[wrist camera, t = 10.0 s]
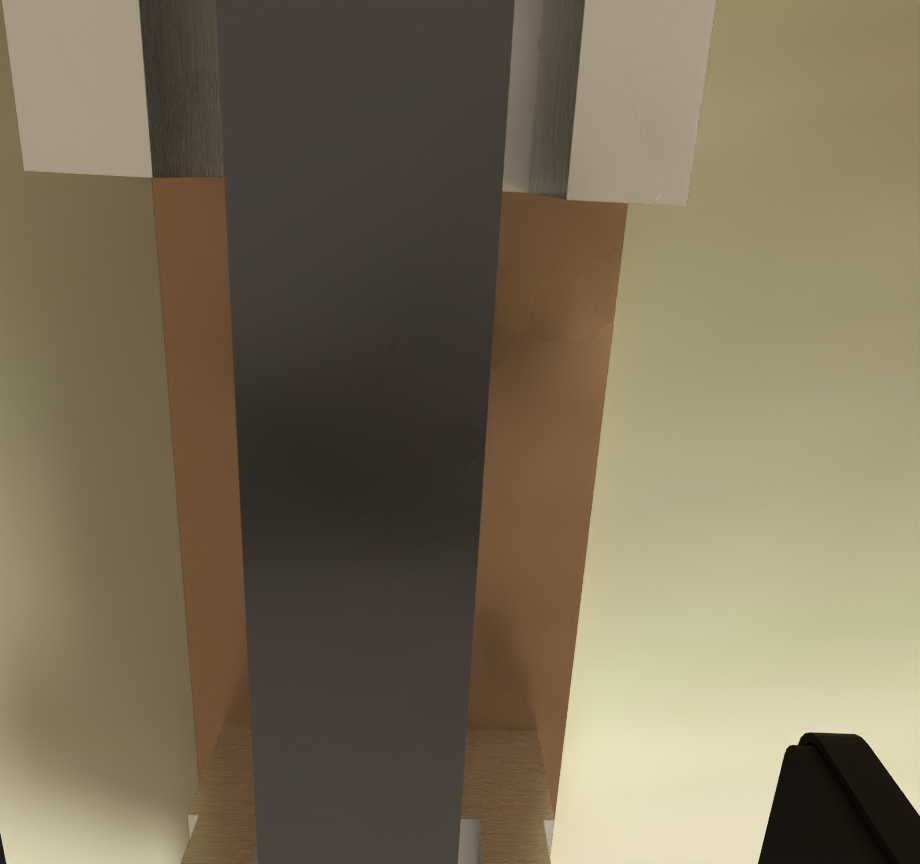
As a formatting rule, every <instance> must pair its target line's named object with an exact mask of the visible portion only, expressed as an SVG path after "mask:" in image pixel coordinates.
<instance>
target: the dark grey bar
mask: <svg viewBox="0 0 920 864" xmlns="http://www.w3.org/2000/svg"><path fill="white" fill-rule="evenodd" d="M514 5H515V0H216V19H217V40H218V60H219V81H220V101H221V122H222V142H223V163H224V183H225V204H226V224H227V245H228V265H229V286H230V306H231V327H232V347H233V368H234V388H235V409H236V429H237V450H238V470H239V491H240V511H241V532H242V552H243V573H244V593H245V614H246V634H247V655H248V675H249V696H250V716H251V737H252V757H253V778H254V798H255V819H256V839H257V860H258V864H458V854H459V839H460V824H461V809H462V793H463V778H464V763H465V748H466V733H467V718H468V702H469V687H470V672H471V657H472V642H473V627H474V612H475V596H476V581H477V566H478V551H479V536H480V521H481V505H482V490H483V475H484V460H485V445H486V430H487V415H488V399H489V384H490V369H491V354H492V339H493V324H494V308H495V293H496V278H497V263H498V248H499V233H500V218H501V202H502V187H503V172H504V157H505V142H506V127H507V112H508V96H509V81H510V66H511V51H512V36H513V21H514Z"/></svg>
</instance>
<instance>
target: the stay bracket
mask: <svg viewBox="0 0 920 864" xmlns="http://www.w3.org/2000/svg"><path fill="white" fill-rule="evenodd" d="M2 5H3V13H4V21H5V28H6V36H7V44H8V51H9V59H10V67H11V74H12V82H13V90H14V97H15V105H16V113H17V120H18V128H19V136H20V143H21V151H22V159H23V166H24V171H35V172H54V173H73V174H91V175H110V176H129V177H148V178H152V186H153V198H154V211H155V224H156V237H157V250H158V262H159V275H160V288H161V301H162V314H163V326H164V339H165V352H166V365H167V378H168V390H169V403H170V416H171V429H172V442H173V454H174V467H175V480H176V493H177V506H178V518H179V531H180V544H181V557H182V569H183V582H184V595H185V608H186V621H187V633H188V646H189V659H190V672H191V685H192V697H193V710H194V723H195V736H196V749H197V761H198V774H199V787H198V790H197V792H196V795H195V797H194V800H193V802H192V805H191V808H190V810H189V813H188V825H189V836H190V840H189V842H188V845H187V848H186V851H185V853H184V856H183V859H182V861H181V864H258V860H257V839H256V819H255V798H254V778H253V757H252V737H251V716H250V696H249V675H248V655H247V634H246V614H245V593H244V573H243V552H242V532H241V511H240V491H239V470H238V450H237V429H236V409H235V388H234V368H233V347H232V327H231V306H230V286H229V265H228V245H227V224H226V204H225V183H224V163H223V142H222V122H221V101H220V81H219V60H218V40H217V19H216V0H2ZM715 7H716V0H515V5H514V21H513V36H512V51H511V66H510V81H509V96H508V112H507V127H506V142H505V157H504V172H503V187H502V202H501V218H500V233H499V248H498V263H497V278H496V293H495V308H494V324H493V339H492V354H491V369H490V384H489V399H488V415H487V430H486V445H485V460H484V475H483V490H482V505H481V521H480V536H479V551H478V566H477V581H476V596H475V612H474V627H473V642H472V657H471V672H470V687H469V702H468V718H467V733H466V748H465V763H464V778H463V793H462V809H461V824H460V839H459V854H458V864H551V862H550V853H551V844H552V836H553V827H554V819H555V811H556V802H557V794H558V785H559V777H560V769H561V760H562V752H563V743H564V735H565V727H566V718H567V710H568V701H569V693H570V684H571V676H572V668H573V659H574V651H575V642H576V634H577V626H578V617H579V609H580V600H581V592H582V584H583V575H584V567H585V558H586V550H587V541H588V533H589V525H590V516H591V508H592V499H593V491H594V483H595V474H596V466H597V457H598V449H599V441H600V432H601V424H602V415H603V407H604V398H605V390H606V382H607V373H608V365H609V356H610V348H611V340H612V331H613V323H614V314H615V306H616V298H617V289H618V281H619V272H620V264H621V255H622V247H623V239H624V230H625V222H626V213H627V205H628V203H636V204H655V205H673V206H687V202H688V195H689V188H690V181H691V174H692V167H693V160H694V153H695V146H696V139H697V132H698V125H699V118H700V111H701V104H702V97H703V90H704V83H705V76H706V69H707V62H708V55H709V49H710V42H711V35H712V28H713V21H714V14H715Z"/></svg>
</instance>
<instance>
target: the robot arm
mask: <svg viewBox="0 0 920 864" xmlns="http://www.w3.org/2000/svg"><path fill="white" fill-rule="evenodd" d="M0 864H6V860H5V855H4V850H3V845H2V840H1V835H0ZM758 864H920V816H919V814H918V813H917V812H916V810H915V809H914V807H913V806H912V805H911V803H910V802H909V800H908V799H907V798H906V796H905V795H904V793H903V792H902V791H901V789H900V788H899V787H898V785H897V784H896V782H895V781H894V780H893V778H892V777H891V775H890V774H889V773H888V771H887V770H886V768H885V767H884V766H883V764H882V763H881V762H880V760H879V759H878V757H877V756H876V755H875V753H874V752H873V750H872V749H871V748H870V746H869V745H868V744H867V743H866V741H865V740H864V739H863V738H862V737H860V736H858V735H856V734H836V733H805V734H804V735H803V736H802V737H801V738H800V741H799V744H798V745H791V746H789V747H788V748H787V749H786V752H785V755H784V759H783V763H782V767H781V771H780V775H779V779H778V783H777V788H776V792H775V796H774V800H773V804H772V808H771V812H770V816H769V821H768V825H767V829H766V833H765V837H764V841H763V845H762V849H761V854H760V858H759V862H758Z"/></svg>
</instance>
